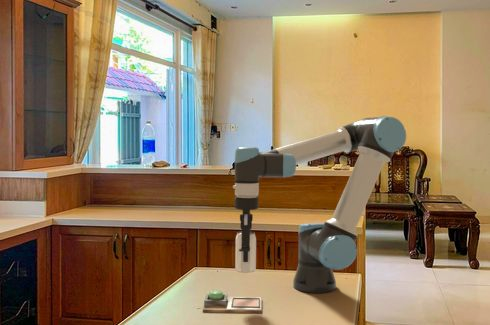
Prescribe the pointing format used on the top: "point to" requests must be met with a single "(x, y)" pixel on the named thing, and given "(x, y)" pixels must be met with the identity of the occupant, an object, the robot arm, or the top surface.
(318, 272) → the robot arm
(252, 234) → the can
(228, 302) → the tan rectangular board
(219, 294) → the button
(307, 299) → the top surface
